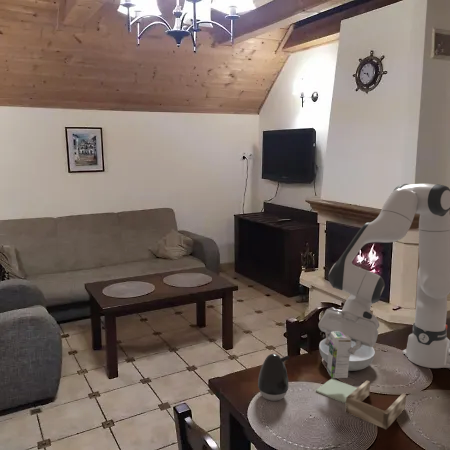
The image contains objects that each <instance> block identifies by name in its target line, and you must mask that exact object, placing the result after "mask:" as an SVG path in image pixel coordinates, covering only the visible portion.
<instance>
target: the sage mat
mask: <svg viewBox="0 0 450 450" xmlns="http://www.w3.org/2000/svg"><path fill="white" fill-rule="evenodd" d="M357 388H358V387H356V386H353V385H351V384H348V383H346V382H342V381H340V380H338V379H336V378H330V379H329V380H327V381H326V382H325V383H324V384H322V385H321V386H320V387H318V388H317V389H315V392H316V393H319V394H321V395H323V396H325V397H328V398H330V399H333V400H334V401H337V402H339V403H342V404H345V405H346V397H348V396H349V395H350V394H351V393H352V392H353V391H355V390H356V389H357Z"/></svg>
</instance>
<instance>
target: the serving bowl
mask: <svg viewBox="0 0 450 450" xmlns="http://www.w3.org/2000/svg"><path fill="white" fill-rule="evenodd" d="M329 340H330V337H329ZM325 341H326V338H324V339H322V340H321V341H320V342H319V344H318V345H319V346H318V349H319V353H320V356H321V358H322V359H323V360H324V361H325V363H326V364H328V354H329V346H327V345H325ZM355 345H356V342H353V341H351V347H352V348H353V347H354V346H355ZM375 355H376V351H375V349H374V346H373V347H368V346H365V345H362V346H361V348H359V349H358V350H357V351H356V352H355V354H354V355H353V354H350V358H349V369H348V372H349V371H351V372H353V371H354V372H355V371H361V370H363V369H366V368H368V367H369V366H370V365H371V364H372V362H373V361H374V358H375Z"/></svg>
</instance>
